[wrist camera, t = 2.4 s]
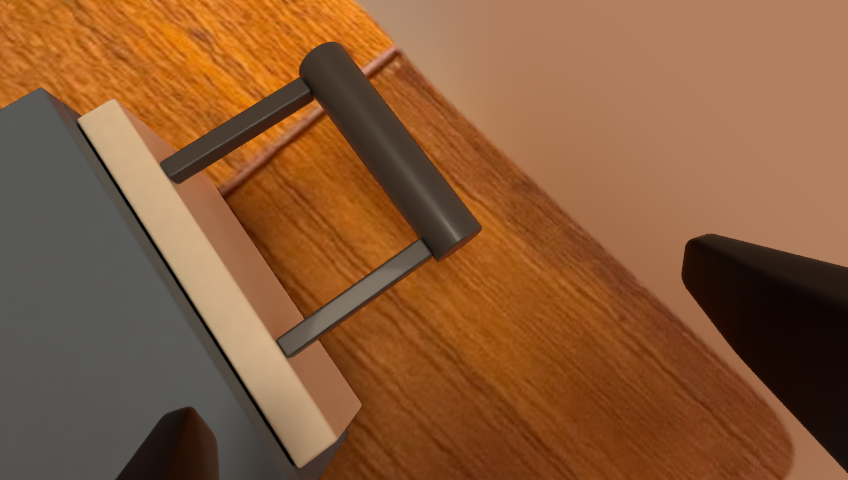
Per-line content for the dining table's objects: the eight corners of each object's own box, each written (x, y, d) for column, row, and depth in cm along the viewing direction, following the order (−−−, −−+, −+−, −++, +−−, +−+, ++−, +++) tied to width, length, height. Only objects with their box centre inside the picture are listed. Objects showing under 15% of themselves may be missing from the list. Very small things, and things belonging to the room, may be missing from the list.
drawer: (333, 99, 21) (297, -22, 14) (490, 309, 19) (538, 288, 12) (-77, 357, 18) (-380, 365, 11) (65, 630, 17) (-189, 842, 9)
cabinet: (187, 189, 21) (40, 85, 13) (349, 433, 19) (303, 504, 11) (-117, 379, 19) (-537, 407, 10) (30, 676, 17) (-338, 1002, 9)
